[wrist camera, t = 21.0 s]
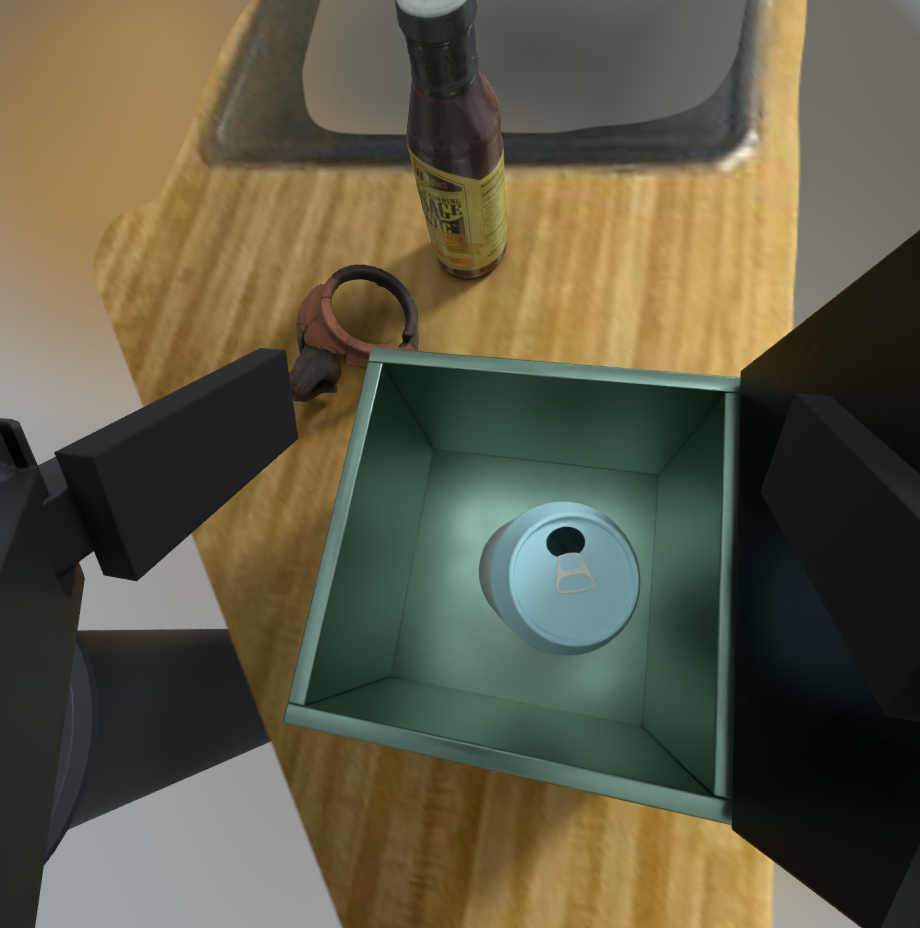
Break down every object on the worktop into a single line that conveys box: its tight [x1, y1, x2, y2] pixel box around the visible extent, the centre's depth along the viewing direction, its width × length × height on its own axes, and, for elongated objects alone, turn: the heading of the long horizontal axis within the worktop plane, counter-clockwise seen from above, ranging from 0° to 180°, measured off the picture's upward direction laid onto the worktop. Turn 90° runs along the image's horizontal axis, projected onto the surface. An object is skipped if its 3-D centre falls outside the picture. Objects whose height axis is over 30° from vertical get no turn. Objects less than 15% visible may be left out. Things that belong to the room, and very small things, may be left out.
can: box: [479, 502, 641, 655], centre depth 28 cm, size 7×7×12 cm
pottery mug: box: [289, 265, 419, 402], centre depth 40 cm, size 12×10×8 cm
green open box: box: [283, 348, 740, 825], centre depth 29 cm, size 18×18×14 cm
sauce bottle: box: [395, 0, 507, 279], centre depth 35 cm, size 6×6×20 cm
